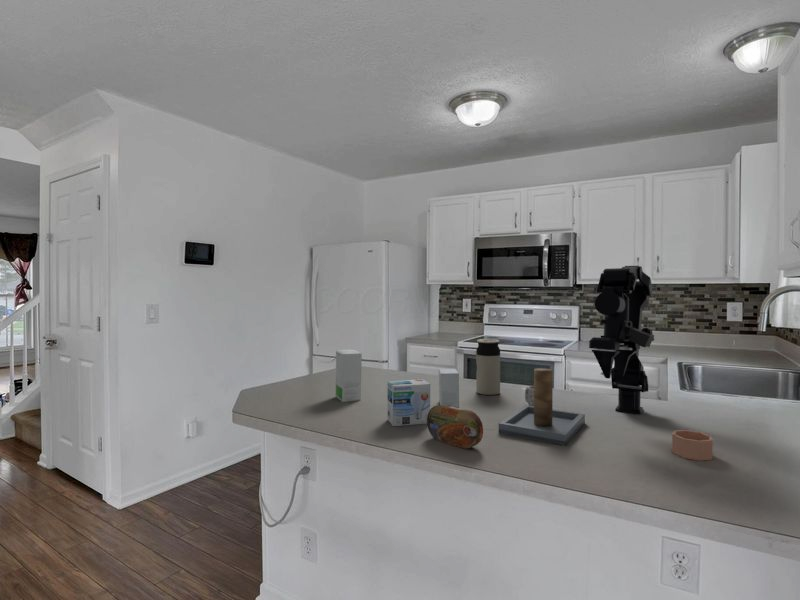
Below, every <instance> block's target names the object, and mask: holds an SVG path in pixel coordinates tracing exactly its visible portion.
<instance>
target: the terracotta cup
mask: <svg viewBox="0 0 800 600" xmlns="http://www.w3.org/2000/svg"><path fill="white" fill-rule="evenodd" d="M713 445H714V443H713V436H712V435H710V434H707V433H705V432H701V431H695V430H688V429H676V430H675V429H674V430H672V433H671V452H672V454H674V455H676V456H679V457H681V458H683V459H689V460H695V461H700V462H701V461H711V460H713V448H714V447H713Z"/></svg>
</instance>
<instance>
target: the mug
mask: <svg viewBox="0 0 800 600" xmlns="http://www.w3.org/2000/svg"><path fill="white" fill-rule="evenodd" d="M524 399H525V402H526V403H527V404H528V406H534V385H530V386H528V387H526V388H525V391H524Z"/></svg>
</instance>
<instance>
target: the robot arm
mask: <svg viewBox="0 0 800 600" xmlns="http://www.w3.org/2000/svg"><path fill="white" fill-rule="evenodd" d="M599 276H600V277H599V281H598V284H597V288H596V289H597V290H596V292H597V294H598V295H597V296H596V298H595V300H594V307H595V310H596V311H597V312H598V313H599V314H601V315H603V319H601V320H600V322H601V323H600V324H602V325H603V335H600V336H599V337H596V336H595V337H592V338H591V339H590V340H589V341H588V342H589V343H588V344H589V345H588V348H589V349H591V352H592V353H593V354H594V355H593V356H594V357H595V359H596V361H597V363H598V365H599V367H600V370H601V372H602V374H603V376H604V378H605V379H611V380H610V381H611V388H612V389H613V390H614V389H616V390H618V403H617V406H616V407H615V411H616V412H622V413H623V412H624V413H629V414H630V413H631V414H638V415H640V414H642V412H643V410H644V407H642V406H641V393H646V392H649V381H648V380H649V379H648V376H647V374H646V371H645V370H644V368H645V367H644V365H643V364H642V361H641V360H640V358H639V354H640V353H639V352H640V349H641V347H642V348H650V346H651V344H652V342H654V341H655V335H654V334H653V333H654V332H653V329H652V328H649V327H643V328H642V320H643V319H642V317H643V311H644V310H645V309H646V308H647V307H648V305H649V304H650V297H652V295H653V284H652V279H651V277H650V276H649V275H647V273H645V272H644V271H643V267H642V266H640V265H624V266H622V267H619V268H618V267H617V268H616V267H615V268H604V270H603V271H602V272H601V273H600V275H599ZM613 365H614V366H613Z"/></svg>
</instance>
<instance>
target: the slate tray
mask: <svg viewBox="0 0 800 600" xmlns="http://www.w3.org/2000/svg"><path fill="white" fill-rule="evenodd" d="M585 424H586V414H585V413H581V412H580V413H579V412H573V411H566V410H560V409H553V408H552V426H551V427H540V426H536V425H534V406H529V405H526V404H525V405H523V406H522V407H521V408H519V409H518V410H515V412H513V413H512V414H510V415H509V416H506V418H504V419H502V420H501V421H500V422H498V434H501V435H507V436H510V437H511V436H512V437H516V438H522V439H526V440H532V441H539V442H542V443H543V442H544V443H548V444H553V445H559V446H564V447H566V446H567V444H569V442H570V441H571V440H572V439H573V438H574V436H575V435H576V434H577V433H578V432H579V431H580V429H581V428H582V427H583V426H584V425H585Z"/></svg>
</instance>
